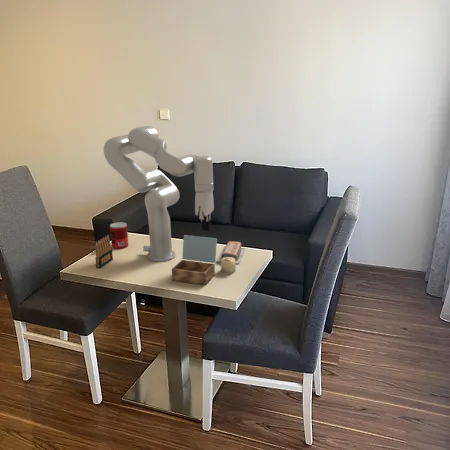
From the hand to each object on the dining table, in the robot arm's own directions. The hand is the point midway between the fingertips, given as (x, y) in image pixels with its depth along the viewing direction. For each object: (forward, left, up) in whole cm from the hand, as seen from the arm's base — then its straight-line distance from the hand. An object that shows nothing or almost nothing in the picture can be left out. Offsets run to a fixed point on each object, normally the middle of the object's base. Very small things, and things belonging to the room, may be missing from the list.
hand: (206, 229), depth 199 cm
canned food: (-49, +10, -17) cm, 52 cm away
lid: (-1, -7, -6) cm, 9 cm away
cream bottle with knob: (+10, -2, -16) cm, 19 cm away
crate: (-1, -13, -16) cm, 21 cm away
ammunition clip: (-44, -11, -17) cm, 48 cm away
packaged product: (+6, +14, -17) cm, 23 cm away
